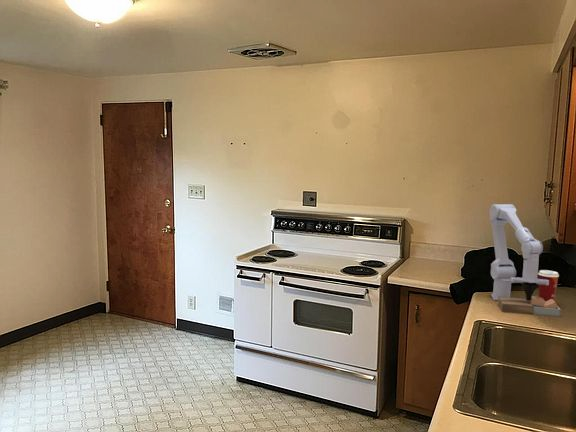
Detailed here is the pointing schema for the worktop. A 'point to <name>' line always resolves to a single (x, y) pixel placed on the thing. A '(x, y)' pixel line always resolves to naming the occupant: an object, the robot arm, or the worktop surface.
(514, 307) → the board
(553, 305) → the tile
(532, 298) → the tile
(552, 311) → the tray
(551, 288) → the coffee cup
